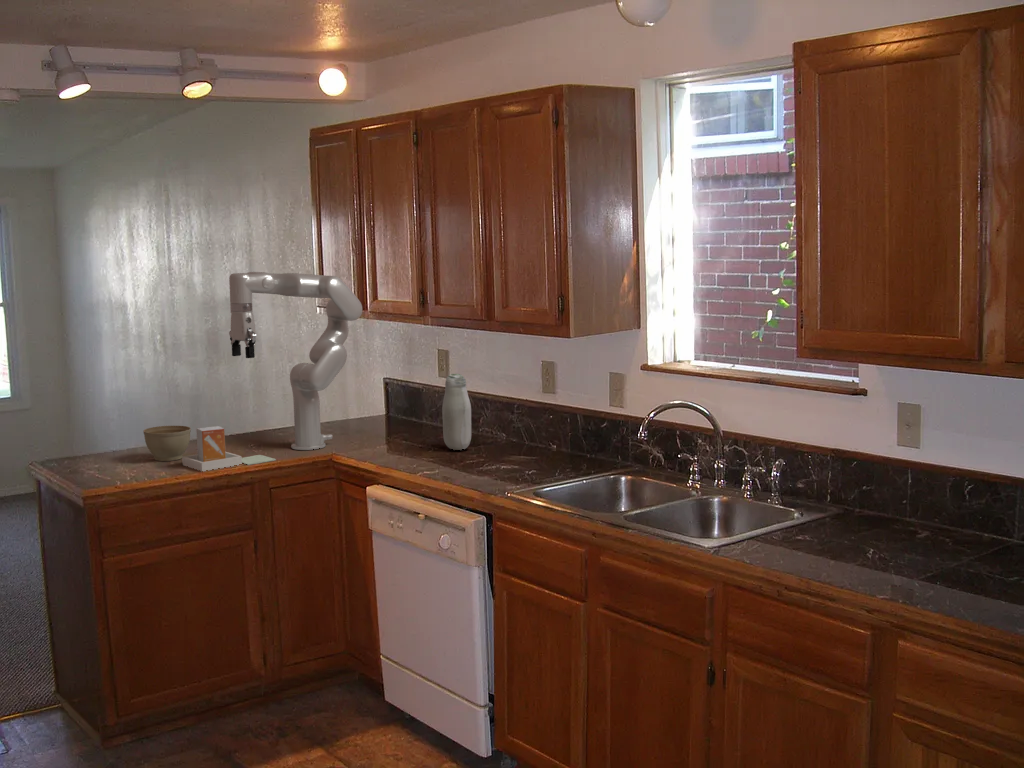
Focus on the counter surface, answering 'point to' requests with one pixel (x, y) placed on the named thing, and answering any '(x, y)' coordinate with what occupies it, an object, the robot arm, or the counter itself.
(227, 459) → the bin
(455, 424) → the glass bottle
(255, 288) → the robot arm
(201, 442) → the small box
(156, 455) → the planter bowl
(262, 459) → the pad
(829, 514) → the counter surface
